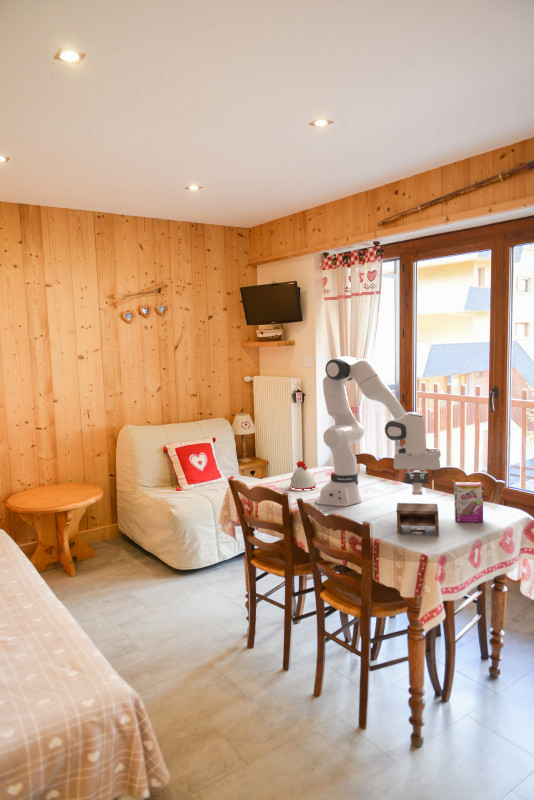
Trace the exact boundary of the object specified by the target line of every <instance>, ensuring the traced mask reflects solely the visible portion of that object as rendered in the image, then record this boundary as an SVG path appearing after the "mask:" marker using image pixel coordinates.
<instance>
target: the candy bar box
mask: <svg viewBox="0 0 534 800" xmlns="http://www.w3.org/2000/svg"><path fill="white" fill-rule="evenodd" d="M453 485H454V487H453V488H454V490H453V491H454V519H455V522H456V523H480V524H481V523H483V522H484V485H483V483H482V482H480V481H479V482H477V481H475V482H472V481H471V482H467V481H465V482H463V481H462V482H461V481H459V482H458V481H456V482H454V484H453Z"/></svg>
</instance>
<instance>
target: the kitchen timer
mask: <svg viewBox="0 0 534 800" xmlns="http://www.w3.org/2000/svg"><path fill="white" fill-rule="evenodd" d="M296 466H297V468H296V469H295V471H294V472H293V474H292V476H291V477H290V485H289V486H290V488H291V487H292V488H295V489H302V490H304V489H312V488H315V487H317V485H316V481H315V474H313V473H312V472H311V471H310V469H308V466H306V463H304V461H303V460H301V461H300V460H298V461H297V462H296ZM315 489H316V488H315Z"/></svg>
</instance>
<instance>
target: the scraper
mask: <svg viewBox="0 0 534 800" xmlns="http://www.w3.org/2000/svg"><path fill="white" fill-rule="evenodd" d="M412 470H413V471H411V474H413V477H414V479H410V475H409V473H408V471H405V484H412V486H411V487H412V490H411V492H412V493H411V494H412V496H416V495H417V496H419V495H420V496H422V495H423V484H429V483H430V480H429V479H430V478H429V472H428V471H426V473H425V475H424V479H421V477H420V474H423V471H421V469H412Z"/></svg>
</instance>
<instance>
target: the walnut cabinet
mask: <svg viewBox="0 0 534 800" xmlns="http://www.w3.org/2000/svg"><path fill="white" fill-rule="evenodd" d="M402 526H409V527H434V532H435V537H439V536H440V531H439V530H440V529H439V508H438V503H417V502H415V503H414V502H412V503H411V502H408V503H407V502H397V505H396V528H397V530H396V532H397V534H401V532H402Z"/></svg>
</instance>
